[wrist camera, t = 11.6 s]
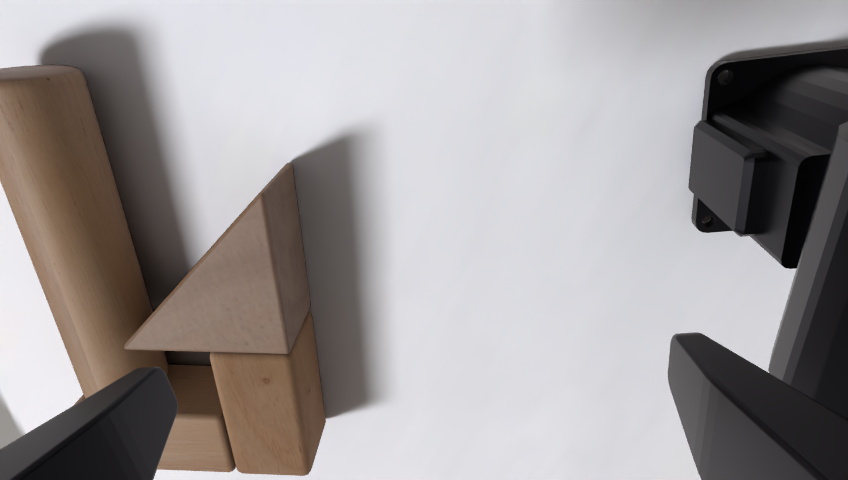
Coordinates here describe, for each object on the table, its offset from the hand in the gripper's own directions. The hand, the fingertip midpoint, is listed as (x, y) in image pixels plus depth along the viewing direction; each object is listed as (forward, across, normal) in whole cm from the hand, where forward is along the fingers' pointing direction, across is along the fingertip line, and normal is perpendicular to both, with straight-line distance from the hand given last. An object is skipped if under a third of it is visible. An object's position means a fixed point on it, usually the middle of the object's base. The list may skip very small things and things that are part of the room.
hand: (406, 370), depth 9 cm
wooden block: (+11, +13, +13) cm, 22 cm away
